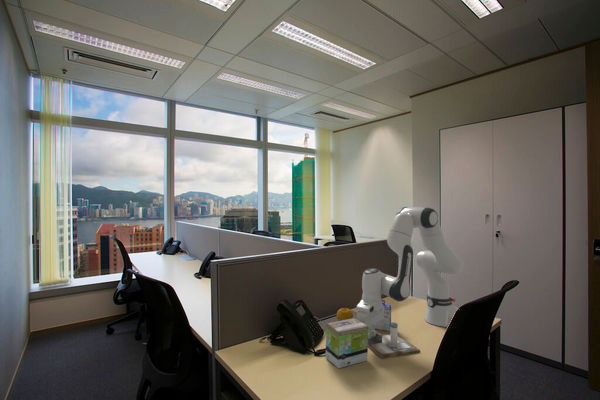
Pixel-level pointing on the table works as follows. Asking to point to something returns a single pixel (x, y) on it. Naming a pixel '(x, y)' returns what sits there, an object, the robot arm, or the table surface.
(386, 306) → the ink cartridge box
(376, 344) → the brown shallow tray
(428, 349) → the table surface
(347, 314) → the apple
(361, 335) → the tea box
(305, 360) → the table surface
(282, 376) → the table surface
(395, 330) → the cylinder
